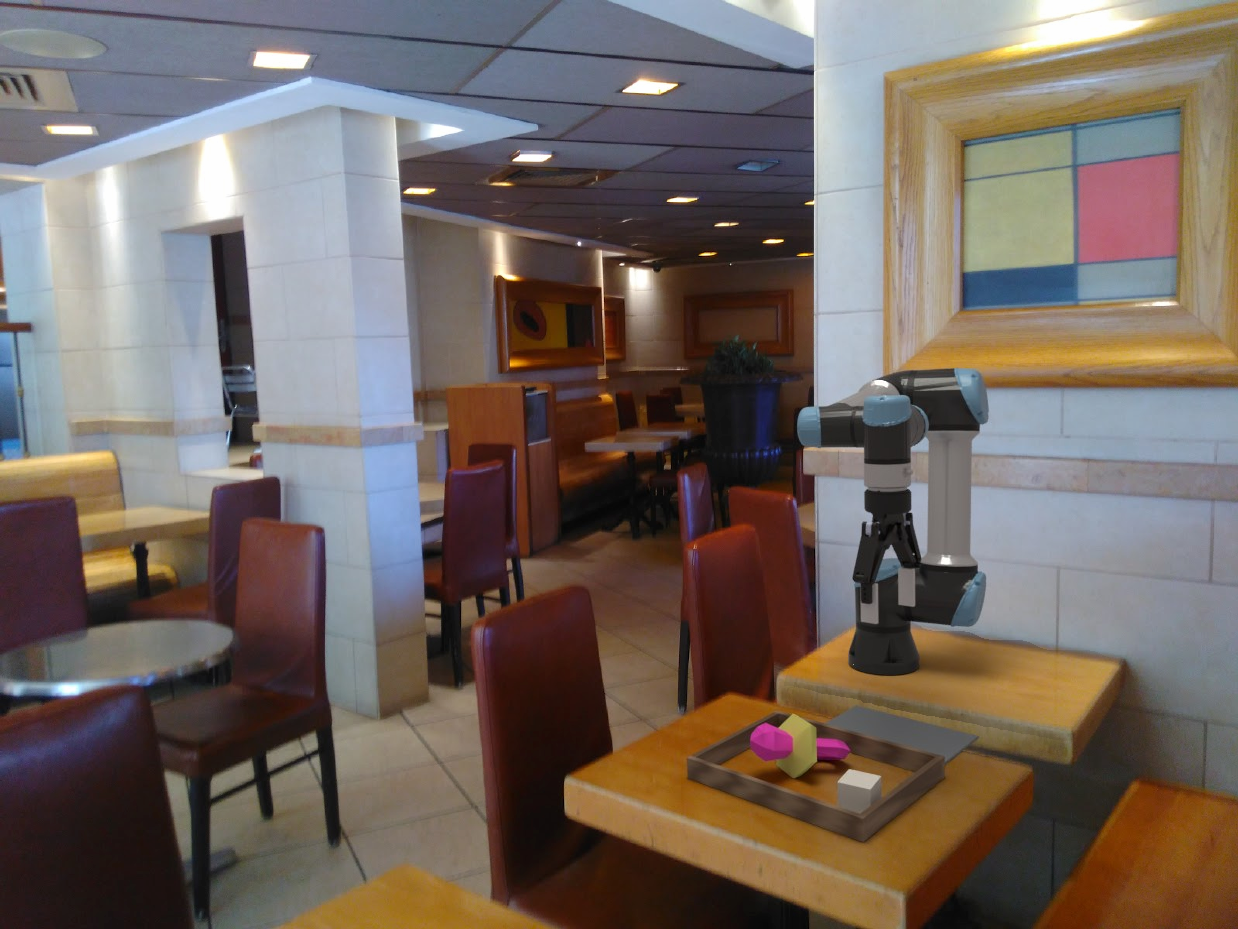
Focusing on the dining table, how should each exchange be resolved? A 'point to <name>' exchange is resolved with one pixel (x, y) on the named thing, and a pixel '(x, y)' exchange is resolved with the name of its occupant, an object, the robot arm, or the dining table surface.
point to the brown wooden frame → (810, 809)
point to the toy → (795, 746)
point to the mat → (904, 731)
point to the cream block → (858, 790)
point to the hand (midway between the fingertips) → (888, 613)
